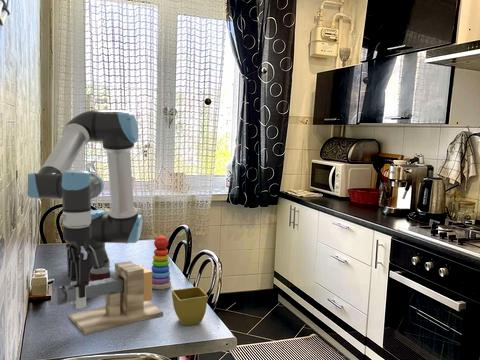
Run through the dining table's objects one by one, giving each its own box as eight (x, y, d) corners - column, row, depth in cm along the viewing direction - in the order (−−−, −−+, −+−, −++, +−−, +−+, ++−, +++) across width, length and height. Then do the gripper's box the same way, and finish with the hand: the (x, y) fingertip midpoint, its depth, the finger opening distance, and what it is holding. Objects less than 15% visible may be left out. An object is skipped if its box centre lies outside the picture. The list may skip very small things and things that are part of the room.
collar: (130, 293, 143) (130, 265, 142) (139, 291, 145) (139, 264, 144) (142, 301, 136) (143, 273, 135) (151, 299, 138) (152, 271, 137)
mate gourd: (108, 292, 156) (108, 250, 154) (85, 292, 155) (84, 250, 153) (112, 284, 163) (111, 244, 162) (89, 285, 162) (89, 245, 161)
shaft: (54, 301, 127) (54, 284, 126) (145, 283, 144) (145, 268, 143) (59, 307, 123) (59, 290, 122) (152, 287, 140) (152, 272, 139)
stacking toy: (166, 291, 158) (166, 239, 156) (145, 289, 160) (145, 238, 158) (174, 284, 166) (174, 234, 164) (154, 282, 167) (154, 233, 165)
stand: (69, 317, 134) (68, 269, 133) (143, 300, 149) (143, 256, 147) (85, 334, 123) (84, 282, 122) (162, 314, 138) (163, 267, 136)
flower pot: (178, 330, 128) (179, 300, 127) (170, 318, 136) (171, 289, 135) (207, 325, 131) (208, 296, 130) (198, 314, 139) (198, 286, 138)
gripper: (54, 221, 130) (56, 299, 133) (73, 232, 117) (74, 318, 120) (80, 219, 135) (81, 293, 137) (101, 229, 122) (102, 311, 124)
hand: (78, 305), depth 129 cm, fingers closed on shaft, 3 cm apart
